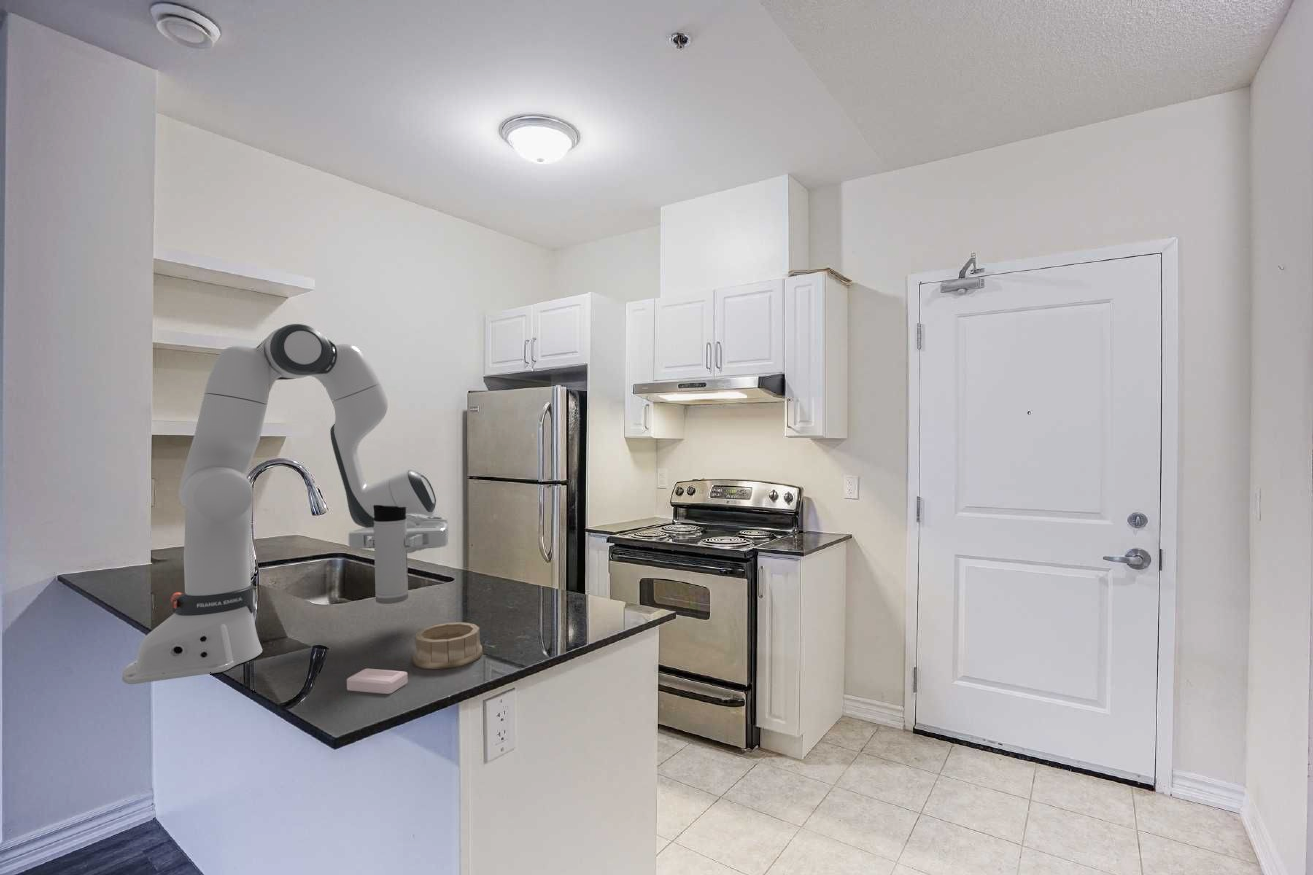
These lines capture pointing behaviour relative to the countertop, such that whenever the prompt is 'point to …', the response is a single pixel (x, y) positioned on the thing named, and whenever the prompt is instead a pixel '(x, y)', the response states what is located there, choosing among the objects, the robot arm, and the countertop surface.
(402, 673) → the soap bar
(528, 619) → the countertop surface
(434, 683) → the countertop surface
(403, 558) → the travel mug
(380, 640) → the countertop surface
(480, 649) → the cup holder
